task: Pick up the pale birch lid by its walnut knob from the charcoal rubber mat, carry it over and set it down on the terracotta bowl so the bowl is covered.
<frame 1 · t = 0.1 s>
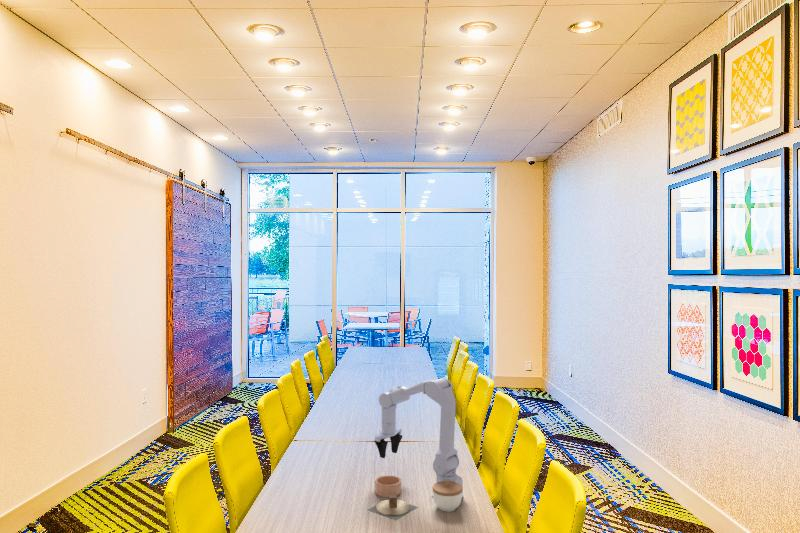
hand: (388, 455, 227), 10 cm above the table, fingers open, 7 cm apart
lid: (392, 508, 199), resting on mat
bowl: (388, 492, 215), on the table
lidded jar: (447, 508, 200), on the table, touching arm
mat: (392, 509, 199), on the table
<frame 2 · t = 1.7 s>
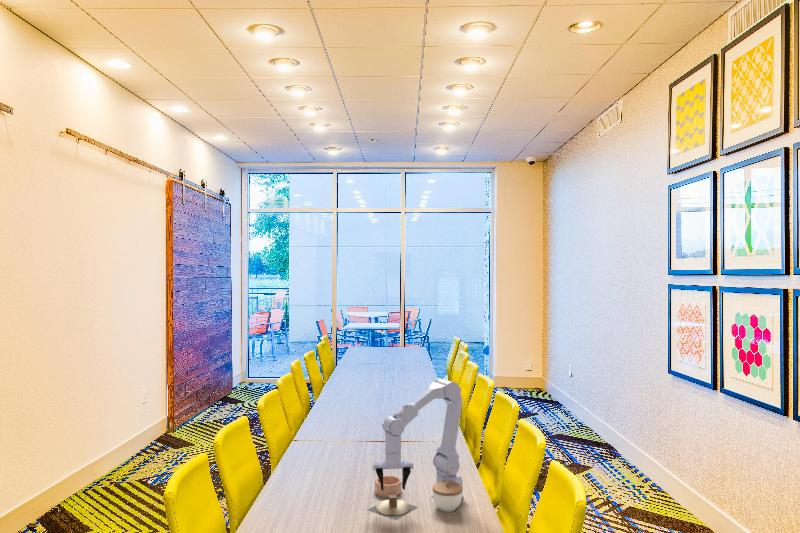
hand: (392, 489, 199), 7 cm above the table, fingers open, 7 cm apart
nothing on the table moved.
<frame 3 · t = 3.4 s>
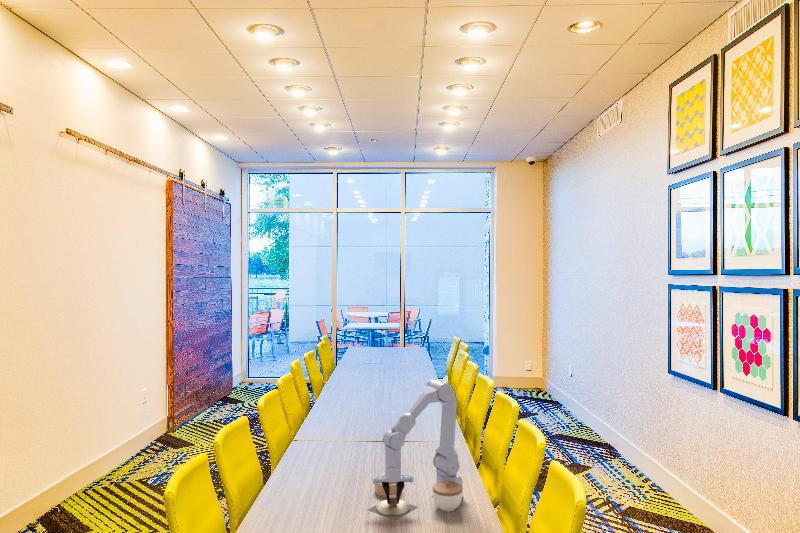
hand: (392, 502, 199), 2 cm above the table, fingers closed on lid, 3 cm apart
lid: (392, 508, 199), resting on mat, touching gripper
everything else where it was.
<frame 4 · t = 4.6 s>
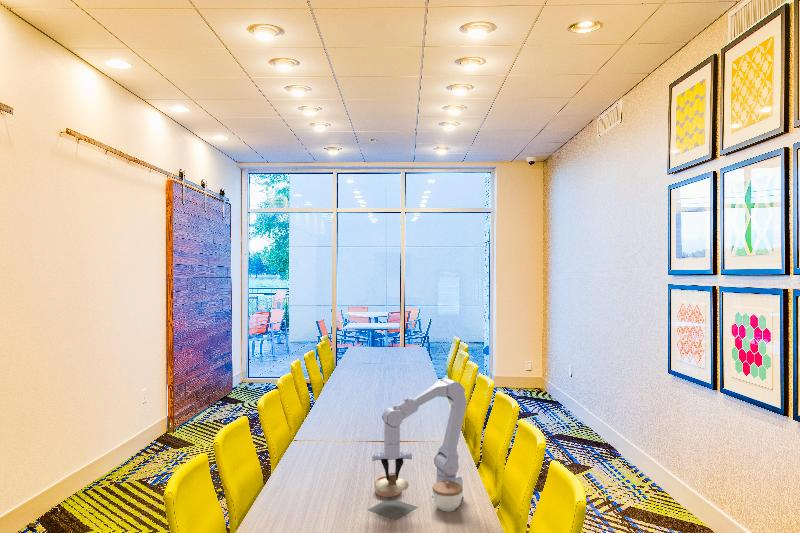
hand: (392, 479, 203), 9 cm above the table, fingers closed on lid, 3 cm apart
lid: (392, 485, 203), point 7 cm above the table, touching gripper
everything else where it was.
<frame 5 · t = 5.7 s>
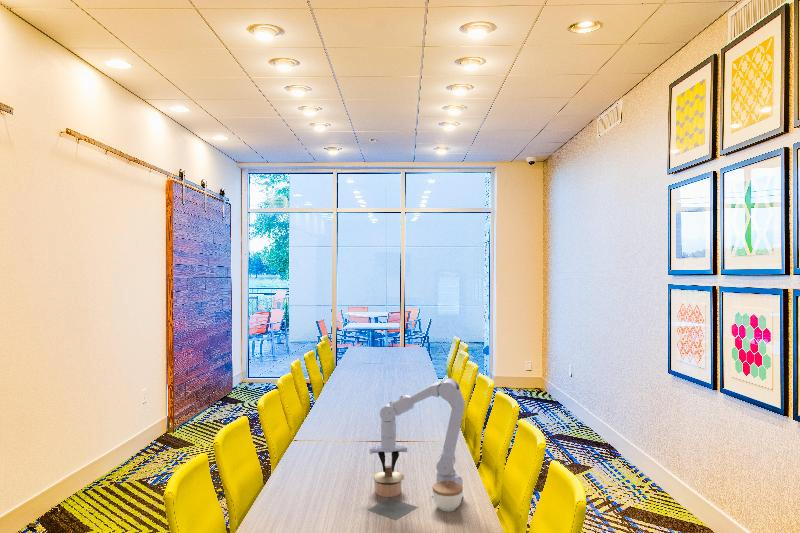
hand: (388, 471, 215), 8 cm above the table, fingers closed on lid, 3 cm apart
lid: (388, 478, 214), point 6 cm above the table, touching gripper
everything else where it was.
when the fingers open (8 cm above the table, at t = 6.3 s): lid stays where it is, resting on bowl.
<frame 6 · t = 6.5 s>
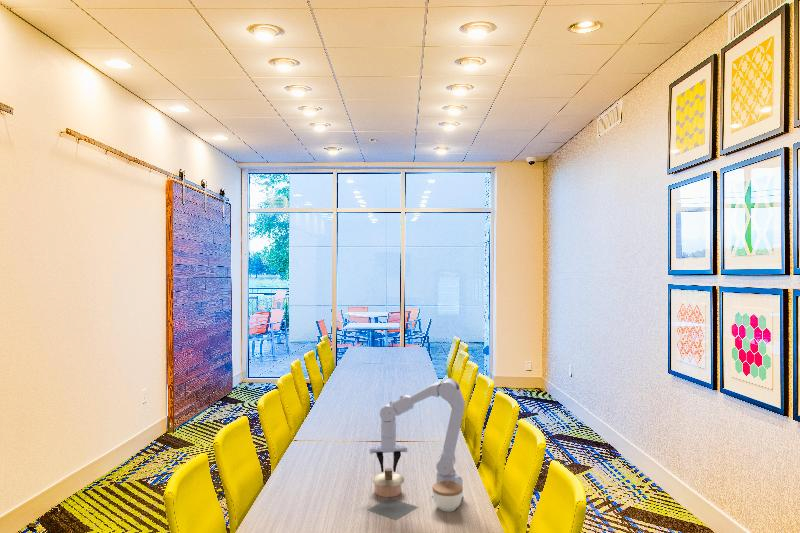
hand: (388, 471, 215), 8 cm above the table, fingers open, 4 cm apart
lid: (388, 480, 214), point 4 cm above the table, touching bowl
everything else where it was.
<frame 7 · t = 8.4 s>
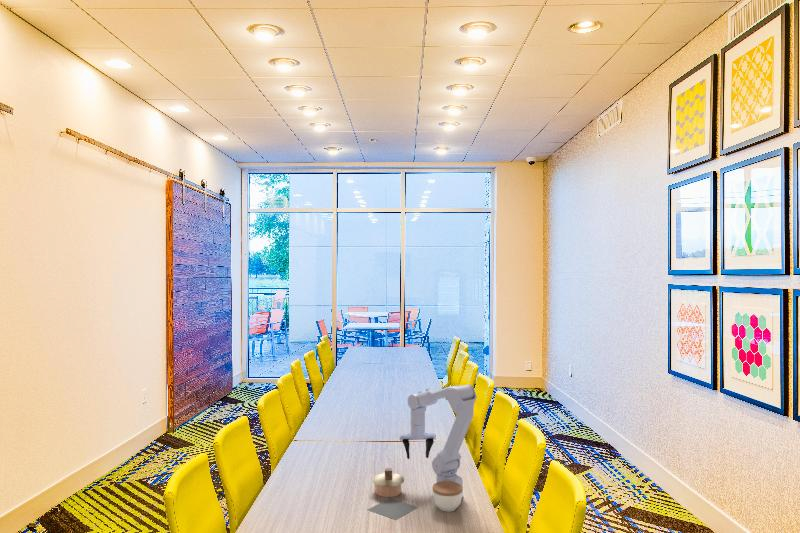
hand: (417, 457, 223), 10 cm above the table, fingers open, 7 cm apart
nothing on the table moved.
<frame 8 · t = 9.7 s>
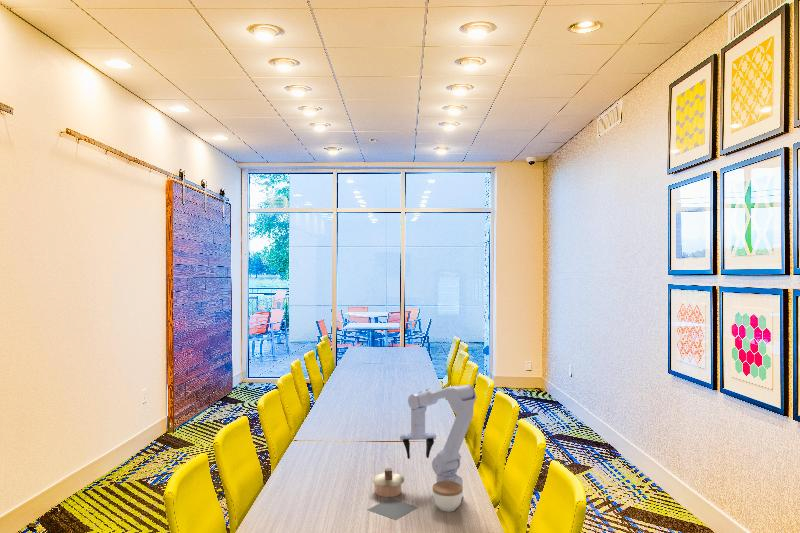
hand: (417, 457, 223), 10 cm above the table, fingers open, 7 cm apart
nothing on the table moved.
at the end: lid 0.5 cm off-centre on the bowl, point 4.5 cm above the bowl's base; lid tilted 0°; lid touching bowl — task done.
